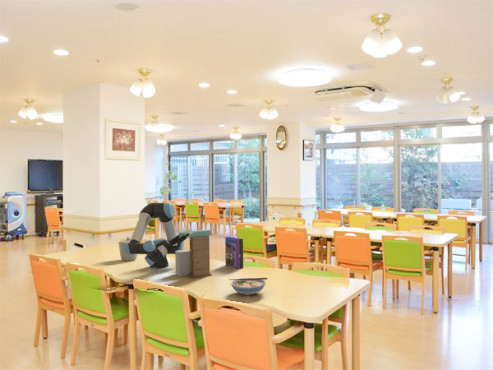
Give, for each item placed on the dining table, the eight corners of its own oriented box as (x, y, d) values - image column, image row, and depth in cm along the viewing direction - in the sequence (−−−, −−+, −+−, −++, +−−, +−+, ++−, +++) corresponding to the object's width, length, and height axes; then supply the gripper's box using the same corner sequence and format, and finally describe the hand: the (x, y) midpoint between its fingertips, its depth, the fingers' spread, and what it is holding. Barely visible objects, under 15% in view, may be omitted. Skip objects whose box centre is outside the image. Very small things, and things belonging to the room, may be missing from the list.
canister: (120, 263, 356) (120, 239, 355) (116, 259, 371) (116, 236, 371) (141, 260, 364) (141, 237, 364) (136, 257, 380) (135, 235, 380)
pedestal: (188, 275, 306) (187, 236, 306) (206, 273, 314) (205, 234, 313) (193, 278, 299) (192, 237, 298) (211, 275, 306) (210, 236, 306)
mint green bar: (179, 237, 300) (178, 232, 299) (208, 235, 312) (208, 229, 312) (181, 238, 296) (180, 232, 296) (210, 235, 308) (210, 230, 308)
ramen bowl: (227, 299, 246) (227, 286, 246) (229, 289, 269) (229, 276, 269) (269, 299, 246) (268, 285, 246) (266, 288, 269) (266, 276, 269)
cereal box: (225, 265, 341) (225, 237, 340) (230, 264, 344) (229, 236, 343) (238, 268, 328) (238, 239, 327) (243, 267, 331) (242, 238, 330)
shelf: (175, 273, 313) (175, 250, 312) (199, 270, 323) (199, 248, 323) (179, 276, 306) (179, 252, 306) (203, 272, 316) (203, 249, 316)
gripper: (163, 251, 300) (188, 233, 310) (171, 255, 286) (197, 236, 296) (158, 243, 298) (184, 225, 308) (166, 246, 284) (193, 227, 294)
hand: (190, 230), depth 302 cm, fingers closed on mint green bar, 4 cm apart
